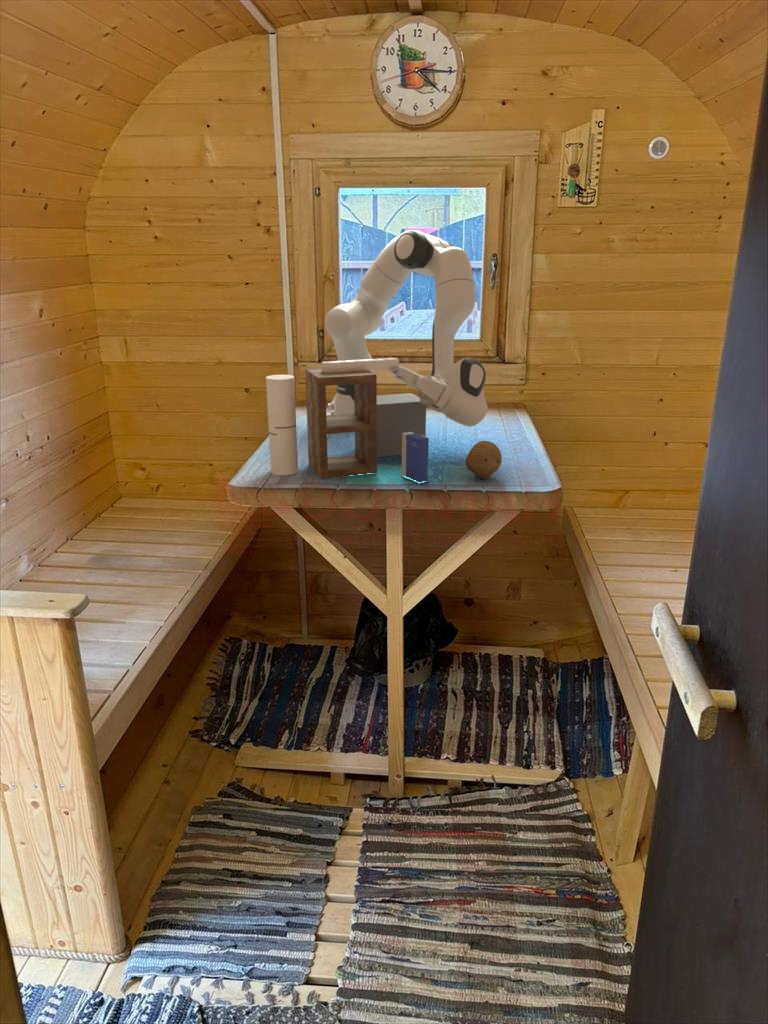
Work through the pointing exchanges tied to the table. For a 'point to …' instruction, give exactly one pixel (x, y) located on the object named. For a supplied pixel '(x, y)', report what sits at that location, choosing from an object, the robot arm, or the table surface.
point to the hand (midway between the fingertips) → (392, 368)
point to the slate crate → (398, 421)
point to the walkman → (415, 456)
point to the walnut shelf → (342, 423)
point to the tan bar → (360, 365)
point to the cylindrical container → (282, 424)
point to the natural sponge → (484, 459)
